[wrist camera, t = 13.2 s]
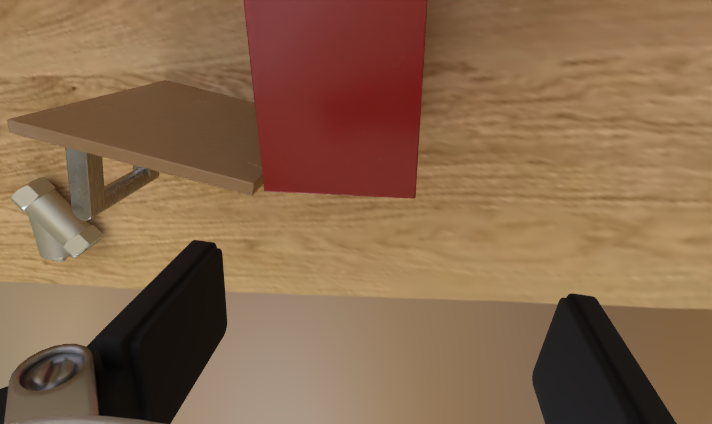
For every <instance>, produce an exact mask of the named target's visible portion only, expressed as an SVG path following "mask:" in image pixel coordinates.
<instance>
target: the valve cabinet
mask: <svg viewBox="0 0 712 424" xmlns="http://www.w3.org/2000/svg"><path fill="white" fill-rule="evenodd" d="M244 7H245V17H246V26H247V35H248V44H249V53H250V63H251V72H252V81H253V90H254V99H255V109H256V118H257V127H258V136H259V146H260V155H261V164H262V173H263V182H264V191H267V192H288V193H310V194H331V195H353V196H374V197H395V198H415V195H416V179H417V162H418V146H419V130H420V113H421V97H422V80H423V64H424V47H425V31H426V15H427V0H244Z"/></svg>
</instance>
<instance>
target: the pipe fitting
mask: <svg viewBox="0 0 712 424" xmlns="http://www.w3.org/2000/svg"><path fill="white" fill-rule="evenodd" d="M11 200H12V201H13V202H14V203H15V204H16V205H17V206H18V207H19V208H20V209H21V210H22V211H25V212H26V213H27V214H28V216H29V220H30V223H31V226H32V230H33V233H34V237H35V240H36V243H37V246H38V250H39V253H40V256H41V257H42V258H45V259H50V260H52V261H57V262H63V261H65V260H66V258H68V257H69V256H71V257H73V258H75V257H77V256H78V255H80V254H81V253H83V252H84V251H85V250H87V249H88V248H90V247H91V246H92V245H93V244H95V243H96V242H97V241H99V240H100V239H101V238H102V237H103V234H102V233H101V232H100V231H99V230H98V229H97V228H96V227H95V226H94V225H91V224H90V223H89V222H88V221H83V220H80V219H78V218H77V217H76V216H75V215H74V214H73V212H72V207H71V205H70V204H69V203H68V202H67V201H66V200H65V199H64V198H63V197H62V196H61V195H60V194H59V193H58V192H57V191H56V188H55V186H53V185H52V184H51V183H50V182H49V181H48V180H47V179H46V178H45V177H42V178H38V179H36V180H34V181H32V182H30V183H28V184H26V185H25V186H23V187H22V188H20V189H19V190H18V191H16V192H15V193H14V194H13V195H12V196H11Z"/></svg>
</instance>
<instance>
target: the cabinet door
mask: <svg viewBox="0 0 712 424" xmlns="http://www.w3.org/2000/svg"><path fill="white" fill-rule="evenodd" d="M7 121H8V128H9V132H10V133H13V134H17V135H21V136H24V137H28V138H32V139H36V140H40V141H44V142H47V143H51V144H55V145H59V146H63V147H65V149H66V158H67V168H68V178H69V187H70V197H71V207H72V212H73V214H74V215H75V216H76V217H77V218H78V219H80V220H83V221H87V220H90V219H91V218H93V217H95V216H96V215H98V214H99V213H101V212H103V211H104V210H106V209H108V208H109V207H111V206H112V205H114V204H116V203H117V202H119V201H121V200H122V199H124V198H125V197H127V196H129V195H130V194H132V193H133V192H135V191H137V190H138V189H140V188H142V187H143V186H145V185H146V184H148V183H150V182H151V181H153V180H155V179H156V178H157V177H158V176H159V172H162V173H166V174H170V175H174V176H178V177H182V178H185V179H189V180H193V181H197V182H201V183H205V184H208V185H212V186H216V187H220V188H224V189H228V190H231V191H235V192H239V193H243V194H247V195H251V196H253V195H254V194H255V193H256V192H257V190H258V189H259V188H260V187H261V186H262V185H263V184H264V182H263V173H262V164H261V155H260V146H259V136H258V127H257V118H256V109H255V103H252V102H248V101H244V100H240V99H236V98H232V97H228V96H225V95H221V94H217V93H213V92H209V91H205V90H201V89H197V88H193V87H189V86H185V85H181V84H178V83H174V82H170V81H166V80H165V81H161V82H157V83H153V84H149V85H144V86H140V87H136V88H132V89H128V90H124V91H120V92H116V93H112V94H108V95H104V96H100V97H96V98H92V99H88V100H84V101H80V102H76V103H72V104H68V105H64V106H60V107H56V108H52V109H47V110H43V111H39V112H35V113H31V114H27V115H23V116H19V117H15V118H11V119H8V120H7ZM102 157H105V158H109V159H113V160H116V161H120V162H124V163H128V164H132V165H133V171H132V172H130V173H128V174H126V175H125V176H123V177H121V178H119V179H117V180H115V181H113V182H112V183H110V184H108V185H106V186H104V178H103V162H102Z"/></svg>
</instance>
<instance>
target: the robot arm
mask: <svg viewBox="0 0 712 424" xmlns="http://www.w3.org/2000/svg"><path fill="white" fill-rule="evenodd" d="M226 328H227V315H226V300H225V286H224V272H223V258H222V251H221V249H218V248H217V246H216V244H215V243H212V242H205V241H198V240H194V241H192V242H191V243H190V244H189V245H188V246H187V247H186V248H185V249H184V250H183V251H182V252H181V253H180V254H179V255H178V256H177V257H176V258H175V259H174V260H173V261H172V262H171V263H170V264H169V265H168V266H167V267H166V268H165V269H164V270H163V271H162V272H161V273H160V274H159V275H158V276H157V277H156V278H155V279H154V280H153V281H152V282H151V283H150V284H149V285H148V286H147V287H146V288H145V289H144V290H143V291H142V292H141V293H140V294H139V295H138V296H137V297H136V298H135V299H134V300H133V301H131V303H129V305H127V307H126V308H124V310H122V311H121V312H120V314H118V315H117V316H116V317H115V318H114V320H112V321H111V322H110V323H109V324H108V325H107V326H106V327H105V329H103V330H102V331H101V332H100V333H99V334H98V335H97V336H96V338H95V339H94V340H93V341H92V342H91V343H90V344H89V345H88V346H87V347H85V346H82V345H78V344H63V345H58V346H53V347H50V348H47V349H45V350H42V351H40V352H38V353H36V354H34V355H32V356H30V357H29V358H27V360H25V361H24V362H23V363H21V364H20V365H19V366H18V367H17V368H16V370H15V371H14V372H13V373H12V376H11V378H10V381H9V386H8V387H5V388H2V389H0V424H170V423H171V422H172V420H173V418H174V417H175V415H176V413H177V412H178V410H179V409H180V407H181V405H182V404H183V402H184V400H185V399H186V397H187V395H188V394H189V392H190V391H191V389H192V387H193V385H194V384H195V382H196V381H197V379H198V377H199V376H200V374H201V372H202V371H203V369H204V367H205V366H206V364H207V362H208V361H209V359H210V358H211V356H212V354H213V353H214V351H215V349H216V347H217V346H218V344H219V343H220V341H221V339H222V338H223V336H224V334H225V331H226ZM532 377H533V379H532V380H533V386H534V389H535V393H536V395H537V399H538V402H539V405H540V408H541V411H542V414H543V418H544V421H545V424H676V422H675V421H674V419H673V417H672V416H671V414H670V413H669V411H668V410H667V408H666V407H665V405H664V404H663V402H662V400H661V399H660V397H659V396H658V394H657V392H656V391H655V389H654V388H653V386H652V385H651V383H650V382H649V380H648V379H647V377H646V375H645V374H644V372H643V371H642V369H641V368H640V366H639V364H638V363H637V361H636V360H635V358H634V357H633V355H632V354H631V352H630V350H629V349H628V347H627V346H626V344H625V343H624V341H623V340H622V338H621V336H620V335H619V333H618V332H617V330H616V329H615V327H614V326H613V324H612V322H611V321H610V319H609V318H608V316H607V315H606V313H605V311H604V310H603V308H602V307H601V305H600V304H599V302H598V301H597V299H596V298H595V297H592V296H585V295H578V294H569V295H568V296H567V298H561V299H560V301H559V303H558V305H557V308H556V311H555V314H554V316H553V319H552V322H551V324H550V327H549V330H548V333H547V335H546V338H545V341H544V343H543V346H542V349H541V352H540V354H539V357H538V360H537V363H536V365H535V368H534V371H533V376H532Z"/></svg>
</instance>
